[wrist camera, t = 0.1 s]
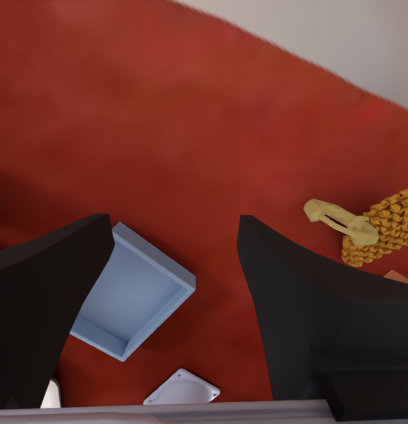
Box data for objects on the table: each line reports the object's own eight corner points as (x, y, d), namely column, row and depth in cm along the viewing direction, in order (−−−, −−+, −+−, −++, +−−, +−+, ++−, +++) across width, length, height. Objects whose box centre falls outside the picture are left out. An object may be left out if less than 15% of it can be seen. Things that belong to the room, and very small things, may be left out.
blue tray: (129, 343, 27) (122, 362, 24) (55, 301, 24) (39, 318, 22) (195, 276, 24) (196, 289, 21) (120, 221, 21) (110, 229, 19)
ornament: (496, 216, 17) (392, 178, 12) (402, 290, 22) (303, 282, 17) (414, 185, 23) (321, 150, 18) (354, 249, 28) (269, 235, 23)
